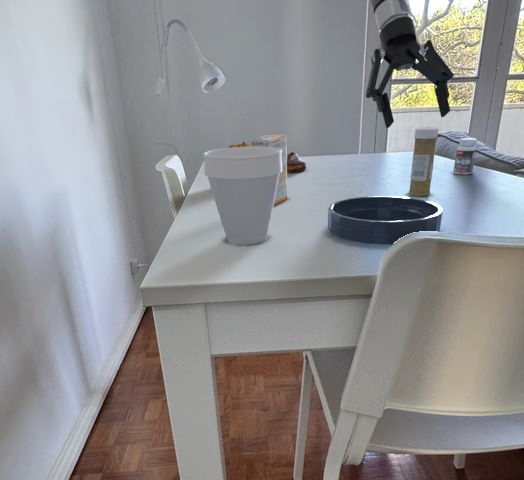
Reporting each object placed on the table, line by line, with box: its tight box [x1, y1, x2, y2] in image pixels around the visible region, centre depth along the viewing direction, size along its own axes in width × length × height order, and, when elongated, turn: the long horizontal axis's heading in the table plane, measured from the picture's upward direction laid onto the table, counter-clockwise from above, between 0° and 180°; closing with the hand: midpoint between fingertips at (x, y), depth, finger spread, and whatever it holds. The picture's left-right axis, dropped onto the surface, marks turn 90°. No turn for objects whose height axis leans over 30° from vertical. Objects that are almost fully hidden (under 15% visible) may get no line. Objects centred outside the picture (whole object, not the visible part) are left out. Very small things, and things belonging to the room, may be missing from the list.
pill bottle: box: [452, 137, 478, 176], centre depth 123 cm, size 5×5×8 cm
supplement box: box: [249, 134, 288, 206], centre depth 100 cm, size 8×5×13 cm, turn 154°
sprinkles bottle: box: [408, 126, 439, 197], centre depth 101 cm, size 5×5×13 cm
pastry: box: [287, 151, 307, 173], centre depth 137 cm, size 8×8×5 cm
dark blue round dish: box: [327, 195, 444, 245], centre depth 79 cm, size 18×18×4 cm
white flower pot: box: [202, 147, 282, 246], centre depth 76 cm, size 12×12×14 cm
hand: (418, 119), depth 105 cm, fingers open, 13 cm apart
